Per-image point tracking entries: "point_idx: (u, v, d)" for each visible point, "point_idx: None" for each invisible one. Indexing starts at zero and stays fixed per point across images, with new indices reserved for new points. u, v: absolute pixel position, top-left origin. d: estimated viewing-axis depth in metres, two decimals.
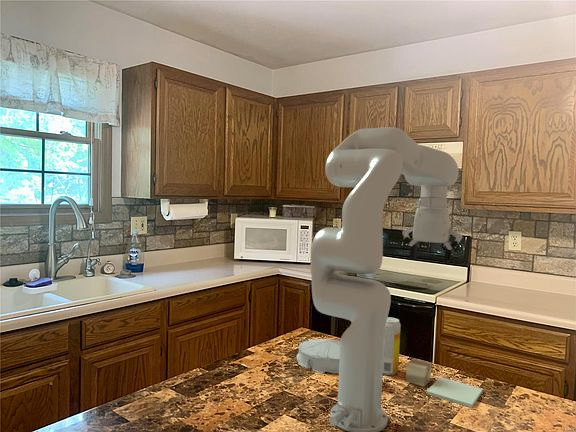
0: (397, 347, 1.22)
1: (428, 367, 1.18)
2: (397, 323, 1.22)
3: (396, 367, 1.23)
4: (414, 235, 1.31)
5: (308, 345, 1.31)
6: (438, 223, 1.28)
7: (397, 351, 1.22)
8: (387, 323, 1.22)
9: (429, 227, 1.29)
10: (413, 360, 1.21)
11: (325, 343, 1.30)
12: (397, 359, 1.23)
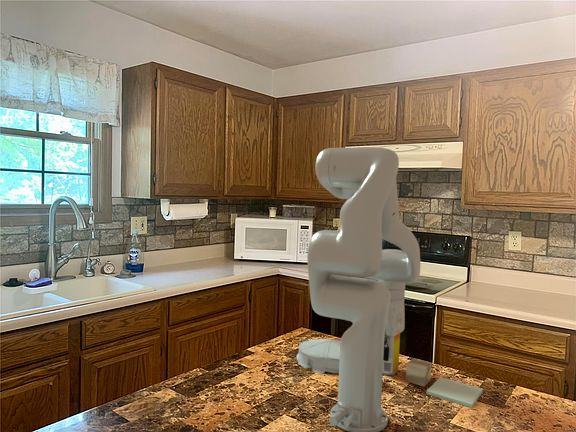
0: (397, 347, 1.22)
1: (428, 367, 1.18)
2: None
3: (396, 367, 1.23)
4: (391, 333, 1.19)
5: (308, 345, 1.31)
6: (402, 313, 1.24)
7: (397, 351, 1.22)
8: None
9: (399, 320, 1.22)
10: (413, 360, 1.21)
11: (325, 343, 1.30)
12: (397, 359, 1.23)
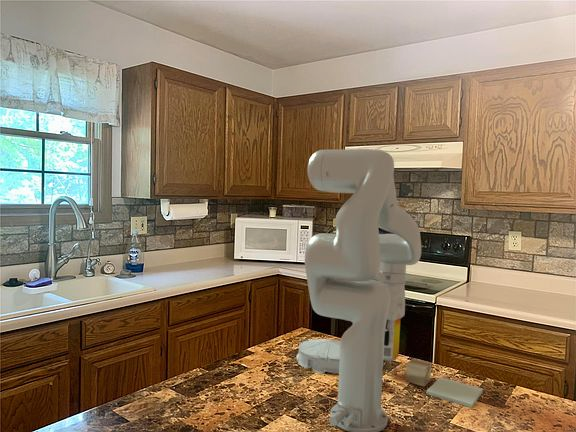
0: (397, 332, 1.21)
1: (428, 367, 1.18)
2: None
3: (396, 352, 1.22)
4: (392, 316, 1.18)
5: (308, 345, 1.31)
6: (403, 298, 1.24)
7: (397, 336, 1.21)
8: None
9: (399, 304, 1.22)
10: (413, 360, 1.21)
11: (325, 343, 1.30)
12: (397, 344, 1.22)
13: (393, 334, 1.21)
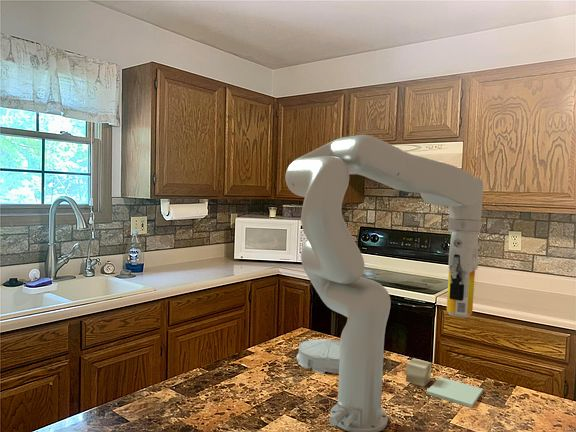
0: (472, 286, 1.09)
1: (428, 367, 1.18)
2: None
3: (471, 308, 1.09)
4: (468, 267, 1.06)
5: (308, 345, 1.31)
6: (477, 248, 1.11)
7: (472, 290, 1.09)
8: None
9: (474, 255, 1.09)
10: (413, 360, 1.21)
11: (325, 343, 1.30)
12: (472, 299, 1.09)
13: (468, 288, 1.08)
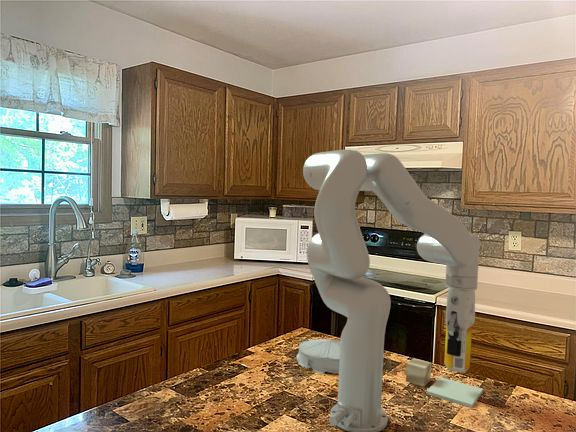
0: (469, 341, 1.10)
1: (428, 367, 1.18)
2: None
3: (468, 363, 1.10)
4: (465, 325, 1.07)
5: (308, 345, 1.31)
6: (473, 303, 1.12)
7: (469, 345, 1.10)
8: None
9: (471, 311, 1.10)
10: (413, 360, 1.21)
11: (325, 343, 1.30)
12: (469, 354, 1.10)
13: (465, 343, 1.09)
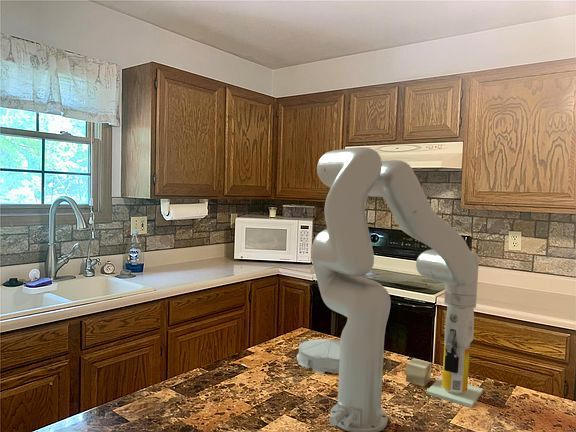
0: (467, 363, 1.10)
1: (428, 367, 1.18)
2: None
3: (466, 385, 1.10)
4: (464, 343, 1.07)
5: (308, 345, 1.31)
6: (472, 320, 1.12)
7: (467, 368, 1.10)
8: None
9: (470, 328, 1.10)
10: (413, 360, 1.21)
11: (325, 343, 1.30)
12: (467, 376, 1.11)
13: (463, 366, 1.09)
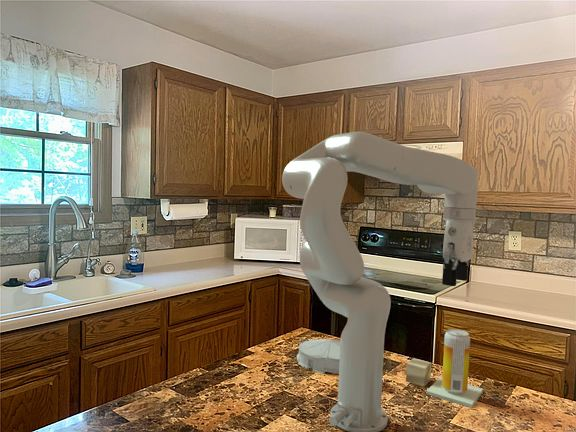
0: (467, 363, 1.10)
1: (428, 367, 1.18)
2: (467, 336, 1.10)
3: (466, 385, 1.10)
4: (462, 256, 1.06)
5: (308, 345, 1.31)
6: (471, 237, 1.11)
7: (467, 367, 1.10)
8: (456, 336, 1.10)
9: (469, 244, 1.09)
10: (413, 360, 1.21)
11: (325, 343, 1.30)
12: (467, 376, 1.11)
13: (463, 365, 1.09)
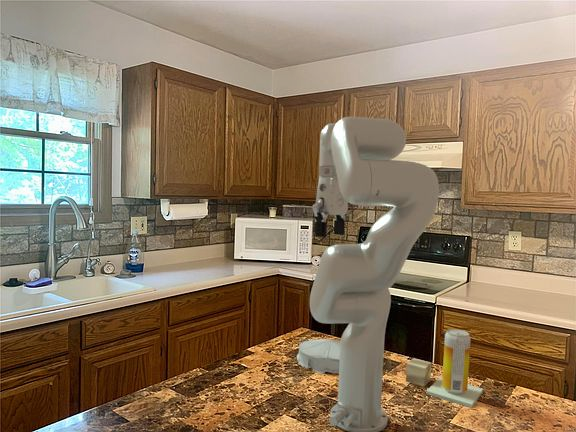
0: (467, 363, 1.10)
1: (428, 367, 1.18)
2: (467, 336, 1.10)
3: (466, 385, 1.10)
4: (331, 209, 1.17)
5: (308, 345, 1.31)
6: None
7: (467, 368, 1.10)
8: (457, 337, 1.09)
9: (340, 199, 1.20)
10: (413, 360, 1.21)
11: (325, 343, 1.30)
12: (467, 376, 1.11)
13: (463, 366, 1.09)
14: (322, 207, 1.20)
